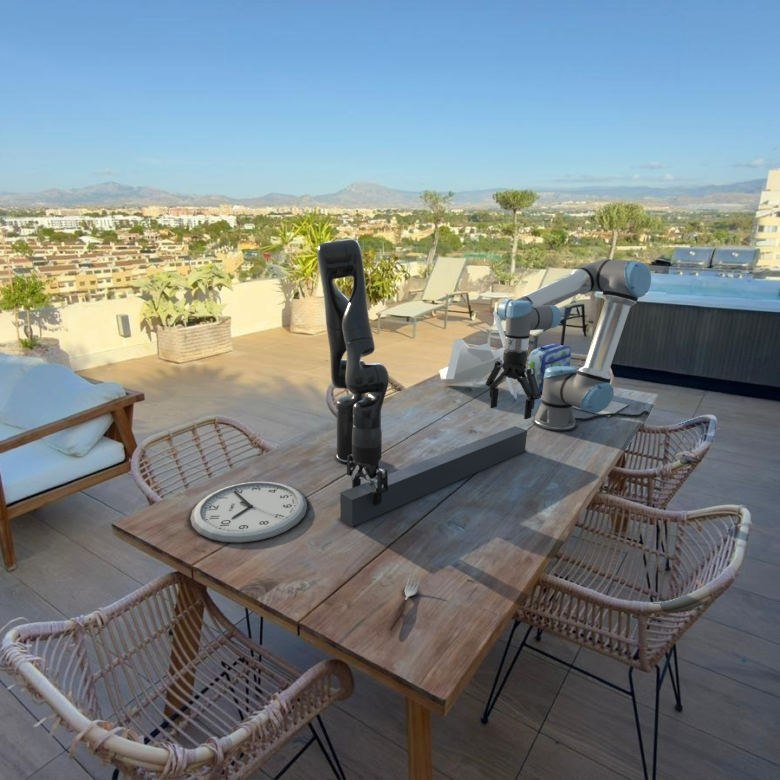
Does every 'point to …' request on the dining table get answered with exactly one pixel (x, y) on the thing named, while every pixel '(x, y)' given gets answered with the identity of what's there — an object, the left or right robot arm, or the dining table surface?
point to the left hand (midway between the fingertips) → (366, 498)
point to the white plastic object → (474, 361)
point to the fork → (409, 592)
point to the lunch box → (548, 360)
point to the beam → (431, 475)
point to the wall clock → (248, 512)
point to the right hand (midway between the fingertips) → (510, 412)
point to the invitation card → (611, 408)
